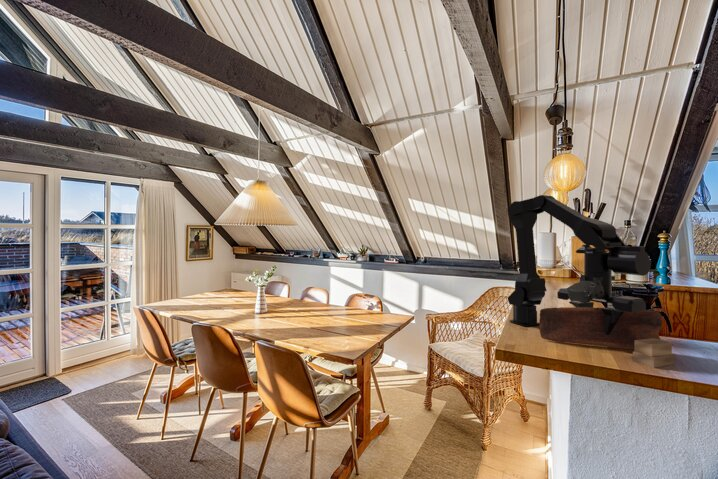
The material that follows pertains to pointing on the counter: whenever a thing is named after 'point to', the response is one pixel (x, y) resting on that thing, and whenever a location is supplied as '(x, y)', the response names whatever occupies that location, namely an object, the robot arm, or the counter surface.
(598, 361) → the counter surface
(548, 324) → the wooden tablet
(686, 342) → the counter surface
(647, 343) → the offcut upper
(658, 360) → the offcut lower
